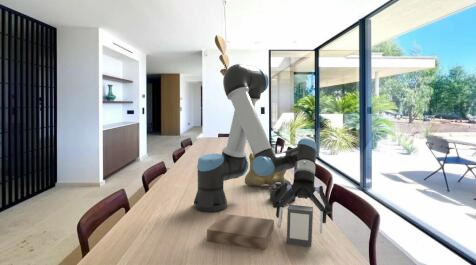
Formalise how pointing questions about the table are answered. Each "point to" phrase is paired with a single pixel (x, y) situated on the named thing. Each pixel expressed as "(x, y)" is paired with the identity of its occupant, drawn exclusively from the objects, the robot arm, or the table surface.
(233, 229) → the display block
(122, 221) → the table surface
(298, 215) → the tall slate rectangular prism
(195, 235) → the table surface
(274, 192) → the camera
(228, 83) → the robot arm
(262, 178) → the decorative coral
